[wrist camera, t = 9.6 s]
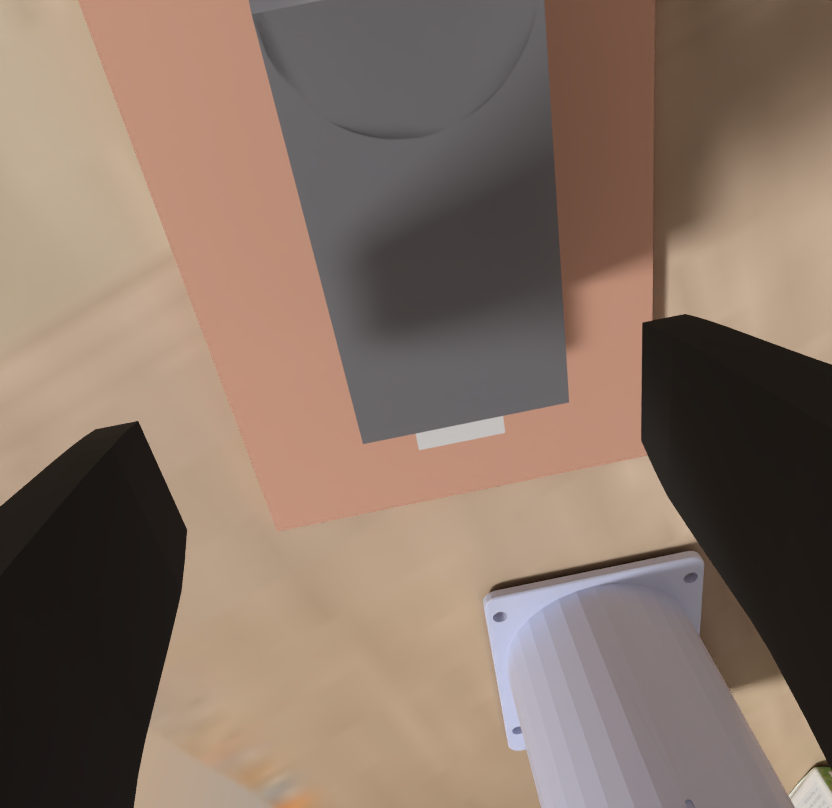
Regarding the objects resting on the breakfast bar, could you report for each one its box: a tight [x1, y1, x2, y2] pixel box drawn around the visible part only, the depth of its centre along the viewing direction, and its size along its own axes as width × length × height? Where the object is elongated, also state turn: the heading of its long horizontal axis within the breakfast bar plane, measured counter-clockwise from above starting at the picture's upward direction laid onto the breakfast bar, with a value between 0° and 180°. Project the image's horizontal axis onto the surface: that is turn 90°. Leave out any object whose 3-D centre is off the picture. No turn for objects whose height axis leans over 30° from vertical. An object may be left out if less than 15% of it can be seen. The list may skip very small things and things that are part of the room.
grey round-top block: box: [249, 0, 569, 450], centre depth 15 cm, size 12×4×5 cm, turn 10°
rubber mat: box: [78, 0, 655, 531], centre depth 17 cm, size 20×12×1 cm, turn 10°
